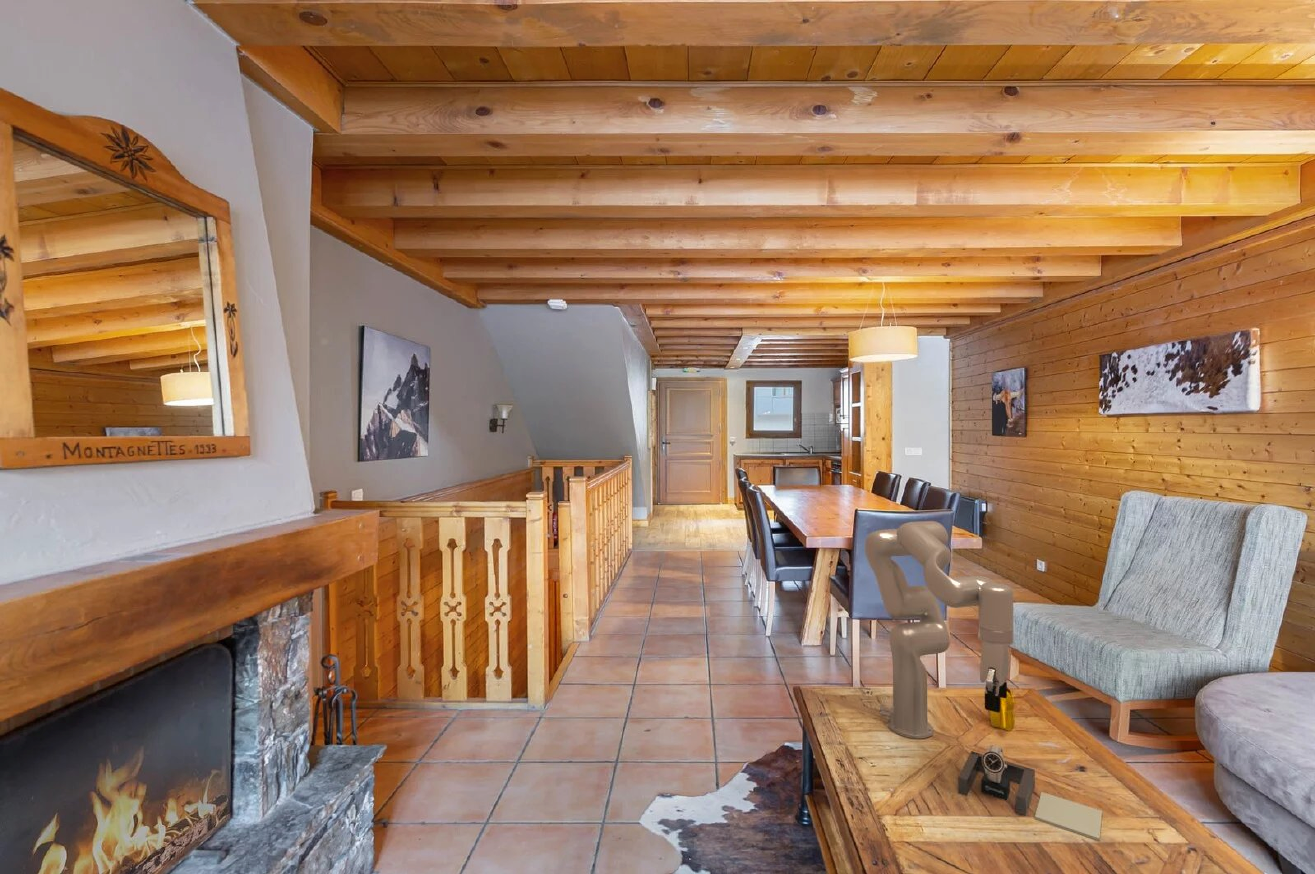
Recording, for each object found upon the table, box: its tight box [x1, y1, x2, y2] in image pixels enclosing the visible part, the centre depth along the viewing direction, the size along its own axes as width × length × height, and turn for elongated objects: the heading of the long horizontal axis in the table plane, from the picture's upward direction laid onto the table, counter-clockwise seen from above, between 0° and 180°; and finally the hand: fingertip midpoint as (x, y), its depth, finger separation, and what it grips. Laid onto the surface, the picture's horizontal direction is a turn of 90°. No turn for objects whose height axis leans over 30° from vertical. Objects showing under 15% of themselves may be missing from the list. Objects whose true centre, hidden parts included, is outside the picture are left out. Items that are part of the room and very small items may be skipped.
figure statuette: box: [987, 686, 1016, 732], centre depth 182 cm, size 18×8×22 cm, turn 144°
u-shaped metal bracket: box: [957, 750, 1036, 817], centre depth 150 cm, size 14×15×4 cm
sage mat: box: [1034, 791, 1103, 842], centre depth 139 cm, size 12×12×1 cm
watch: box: [980, 744, 1011, 801], centre depth 149 cm, size 6×8×11 cm
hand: (996, 703), depth 148 cm, fingers open, 9 cm apart
